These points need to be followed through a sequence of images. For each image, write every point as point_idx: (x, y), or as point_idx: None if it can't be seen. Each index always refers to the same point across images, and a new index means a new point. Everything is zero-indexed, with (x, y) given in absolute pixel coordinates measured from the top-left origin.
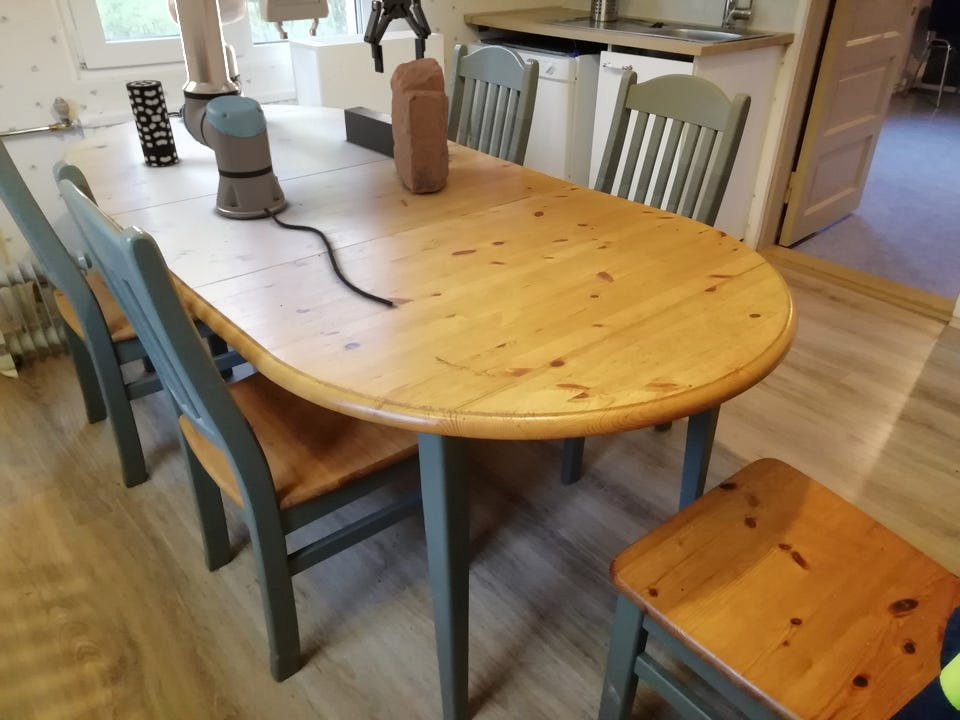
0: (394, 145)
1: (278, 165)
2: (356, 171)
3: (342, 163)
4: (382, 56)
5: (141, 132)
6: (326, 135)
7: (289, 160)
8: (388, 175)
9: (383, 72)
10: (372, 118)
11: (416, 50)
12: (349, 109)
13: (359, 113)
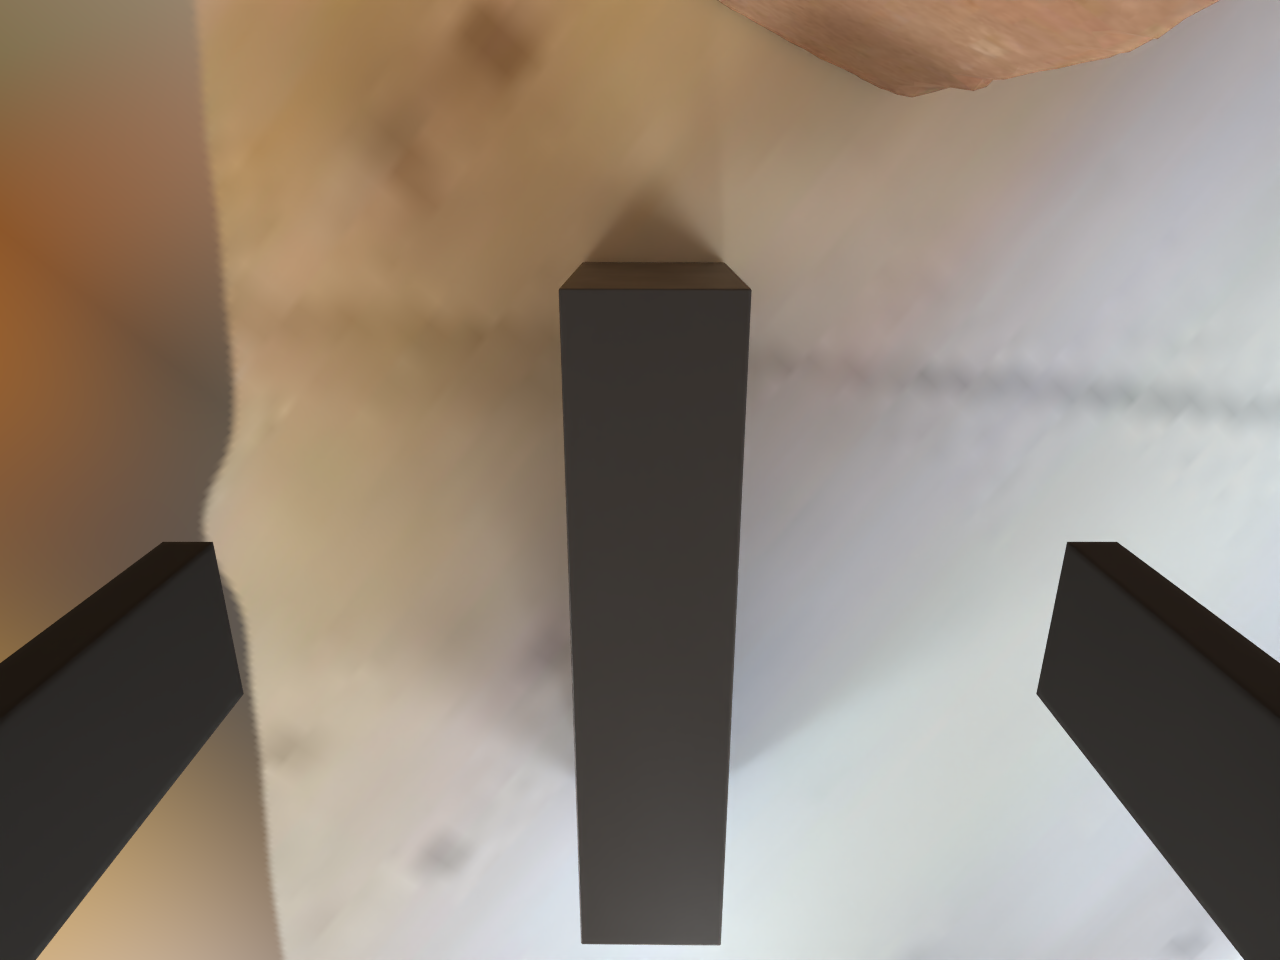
0: (985, 82)
1: None
2: (1082, 288)
3: (1019, 477)
4: (1258, 697)
5: None
6: None
7: None
8: None
9: (1079, 542)
10: (733, 658)
11: (92, 842)
12: (691, 926)
13: (712, 812)
